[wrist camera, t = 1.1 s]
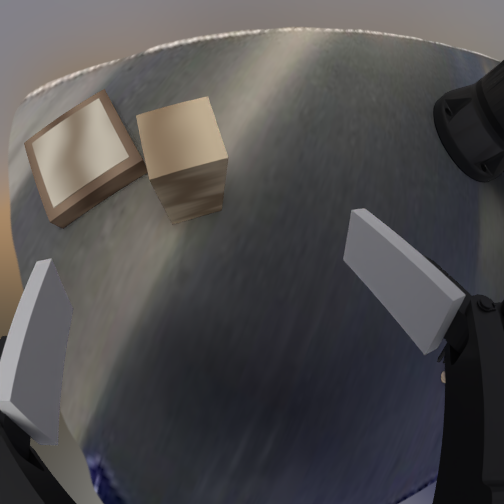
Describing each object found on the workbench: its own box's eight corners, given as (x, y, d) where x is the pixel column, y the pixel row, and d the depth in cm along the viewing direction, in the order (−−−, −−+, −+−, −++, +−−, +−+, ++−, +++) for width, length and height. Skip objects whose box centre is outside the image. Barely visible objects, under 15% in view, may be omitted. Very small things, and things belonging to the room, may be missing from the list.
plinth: (110, 103, 30) (104, 88, 27) (148, 171, 30) (142, 159, 27) (35, 153, 28) (23, 142, 25) (62, 228, 28) (49, 221, 25)
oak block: (207, 165, 31) (207, 96, 19) (221, 210, 30) (228, 157, 18) (160, 179, 30) (136, 115, 18) (172, 224, 29) (149, 179, 18)
